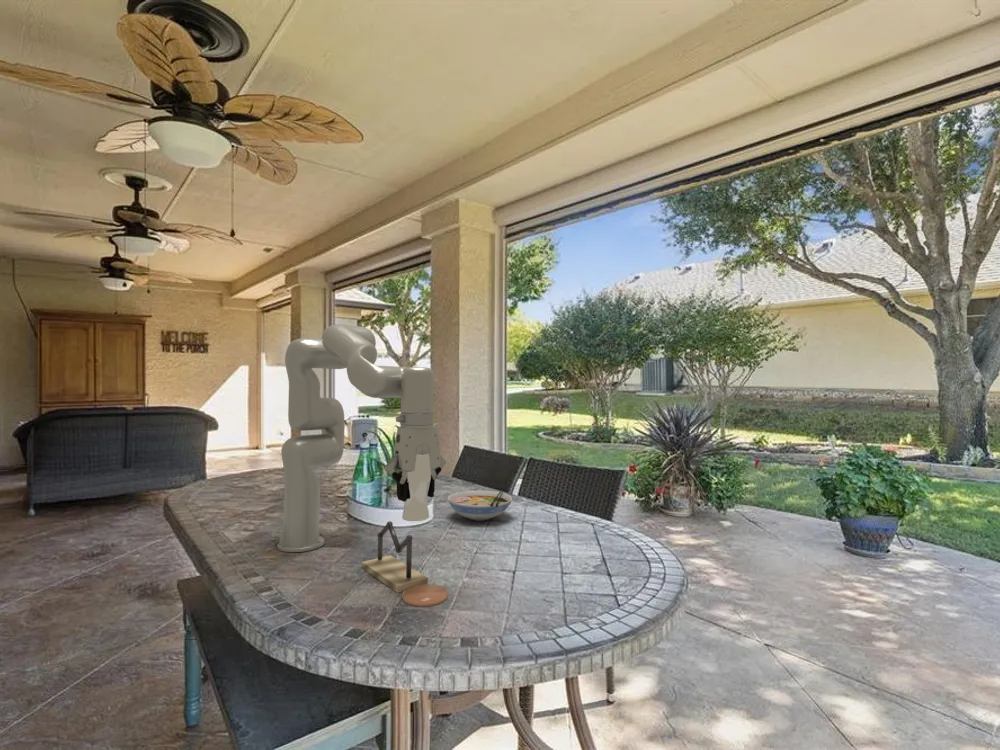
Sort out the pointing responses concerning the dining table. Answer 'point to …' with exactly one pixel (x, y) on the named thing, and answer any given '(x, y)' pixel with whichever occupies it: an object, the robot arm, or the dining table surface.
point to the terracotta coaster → (425, 595)
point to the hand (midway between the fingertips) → (415, 497)
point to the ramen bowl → (479, 504)
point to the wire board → (394, 573)
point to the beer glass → (418, 490)
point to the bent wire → (396, 546)
